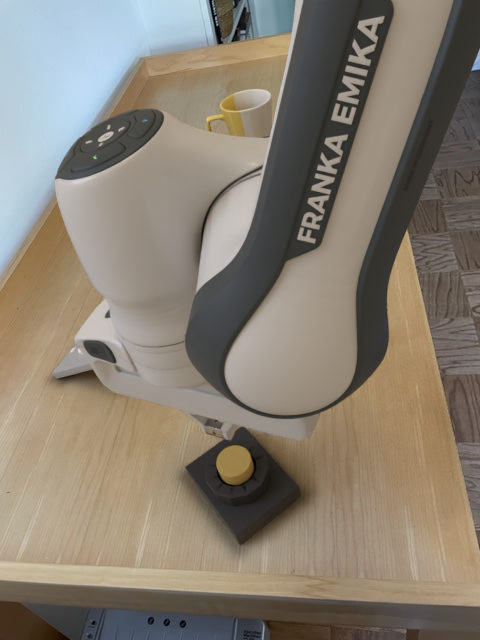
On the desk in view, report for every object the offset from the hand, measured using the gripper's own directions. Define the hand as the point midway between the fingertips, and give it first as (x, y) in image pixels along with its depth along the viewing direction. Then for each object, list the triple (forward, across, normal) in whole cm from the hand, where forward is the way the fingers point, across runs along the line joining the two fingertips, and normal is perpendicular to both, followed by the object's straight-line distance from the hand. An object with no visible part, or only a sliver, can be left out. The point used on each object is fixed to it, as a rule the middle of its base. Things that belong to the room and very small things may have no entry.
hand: (220, 430), depth 50 cm
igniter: (+11, 0, 0) cm, 11 cm away
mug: (+11, +30, -71) cm, 77 cm away
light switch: (+11, +26, -11) cm, 30 cm away
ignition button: (+7, 0, 0) cm, 7 cm away
